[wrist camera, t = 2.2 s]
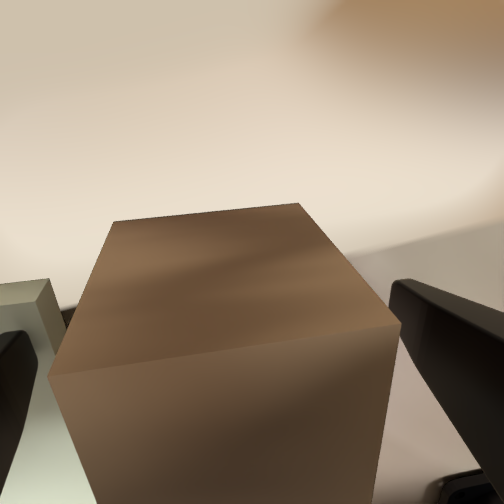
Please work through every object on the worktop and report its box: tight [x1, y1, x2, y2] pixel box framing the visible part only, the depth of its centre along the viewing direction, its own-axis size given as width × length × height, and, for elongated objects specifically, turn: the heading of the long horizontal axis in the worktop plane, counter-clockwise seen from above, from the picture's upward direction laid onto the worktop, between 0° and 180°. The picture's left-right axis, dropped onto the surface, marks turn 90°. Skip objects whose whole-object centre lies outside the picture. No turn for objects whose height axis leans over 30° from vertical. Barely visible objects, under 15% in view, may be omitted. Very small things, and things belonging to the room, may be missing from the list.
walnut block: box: [47, 203, 402, 504], centre depth 8 cm, size 4×4×5 cm
